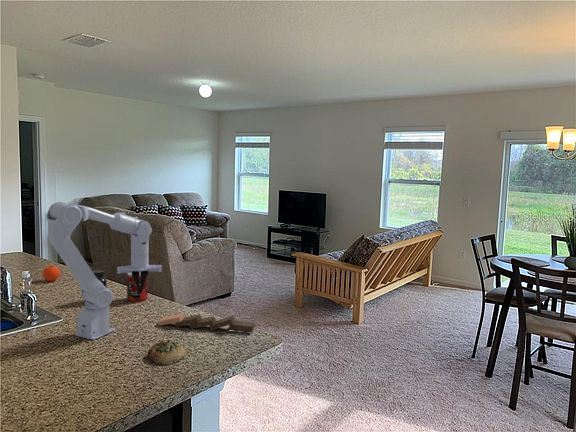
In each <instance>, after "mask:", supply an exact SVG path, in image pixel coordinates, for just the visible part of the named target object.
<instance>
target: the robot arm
mask: <svg viewBox="0 0 576 432" xmlns="http://www.w3.org/2000/svg"><path fill="white" fill-rule="evenodd" d="M45 218H46V221H47V238H48V241H49V242H50V244H51V245H52V247H53V248H54V249H55V251H56V252H57V254H58V255H59V257H60V258H61V260H62V261H63V263H64V264H65V265H66V267H67V268H68V270H69V271H70V273H71V274H72V275H73V277H74V278H75V279H76V281H77V283H78V288H79V289H80V293H81V298H82V299H83V300H84V302H85V303H84V308H83V309H82V310H81V311H79V312H78V314H77V316H76V333H74V335H75V336H76V337H79V338H85V339H87V340H91V341H94V340H96V339H98V338H101V337H103V336H106V335H107V334H109V333H112V332H114V331H116V328H114V327H110V304H111V303H112V301H113V299H114V293H113V291H112V290H111V289H110V288H108V287H107V288H106V287H105V286H104V285H103V283H102V282H100V281H99V280H98V279H97V278H96V276H95V275H94V273H93V272H92V271H93V270H92V269H91V268H90V266H89V264H88V263H87V261H86V260H85V259H84V257H83V255H82V254H81V252H80V251H79V249H78V248H77V246H76V245H75V244H74V242H73V240H72V238H71V235H72V233H73V231H74V230H75V228H76V227H78V225H79V224H80V223H81V222H85V221H88V220H91V221H97V222H100V223H105V224H108V225H109V228H110V229H111V230H114V231H118V232H120V233H124V234H129V235H130V265H125V266H123V265H122V266H117V269H116V270H117V271H116V272H117V274H118V275H119V274H125V273H126V274H127V273H132V277H133V279H134V281H135V283H136V286H137V289H138V293H142V290H143V286H144V283H145V280H146V278H147V276H148V275H149V272H159V273H161V272H163V268H162V267H163V265H162V264H149V249H150V247H149V243H150V242H149V240H150V235H151V234H152V232H153V228H152V227H151V223H149V221H147V220H144V219H139V217H138V216H130V215H127V213H126V212H123V211H120V212H116V213H113V214H111V213H108V212H105V211H101V210H98V209H96V208H93V207H89V206H86V205H85V206H84V205H80V204H74V203H66V202H64V201H63V202H62V201H57V202H55V203H52V204H51V205H50V206H49V208H48V210H47V213H46V215H45ZM139 272H141V284H140V283H139ZM148 277H149V276H148Z"/></svg>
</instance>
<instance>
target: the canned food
mask: <svg viewBox="0 0 576 432" xmlns="http://www.w3.org/2000/svg"><path fill="white" fill-rule="evenodd" d="M126 274H127V275H126V299H127V301H128V302H131V303H140V302H144V301H147V300H148V293H149V291H148V289H149V288H148V287H149V276H147V278H146V280H145V283H144V286H143V290H142V293H138V289H137V286H136V283H135V281H134V279H133V277H132V273H126ZM139 283H140V284H141V272H139Z"/></svg>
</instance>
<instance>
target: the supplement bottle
mask: <svg viewBox="0 0 576 432" xmlns="http://www.w3.org/2000/svg"><path fill="white" fill-rule="evenodd" d="M92 272H93V273H94V275H95V276H96V278H97V279H98V280H99V281H100V282H102V283H103V285H104V286H105V287H106V288H108V280H107V277H105V270H103V269H102V270H101V269H95V270H92Z"/></svg>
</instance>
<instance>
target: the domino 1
mask: <svg viewBox="0 0 576 432" xmlns="http://www.w3.org/2000/svg"><path fill="white" fill-rule="evenodd" d="M184 318H185V314H184V313H178V314H173V315H168V316H164V317H161V318H160V319H158V320H157V325H158V326H159V327H160V326H164V325H171V324H175V323H176V322H181V321H182V320H183V319H184Z"/></svg>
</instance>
